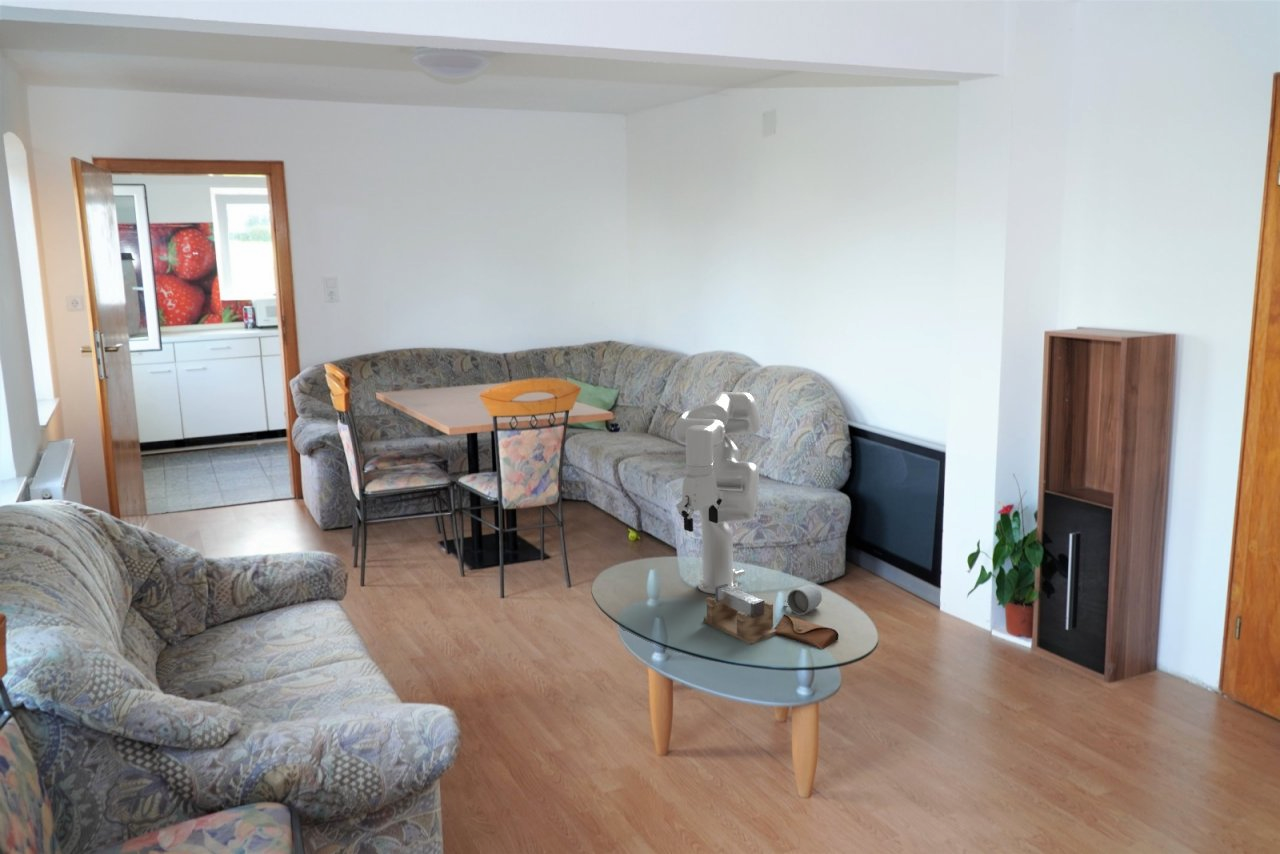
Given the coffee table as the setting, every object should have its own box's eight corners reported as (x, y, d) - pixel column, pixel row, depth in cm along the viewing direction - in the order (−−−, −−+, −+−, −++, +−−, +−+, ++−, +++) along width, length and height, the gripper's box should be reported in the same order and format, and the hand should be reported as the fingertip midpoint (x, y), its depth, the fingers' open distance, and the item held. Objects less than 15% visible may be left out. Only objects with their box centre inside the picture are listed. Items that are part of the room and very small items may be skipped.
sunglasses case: (767, 633, 287) (773, 610, 288) (778, 637, 292) (785, 615, 293) (823, 650, 275) (830, 626, 277) (834, 654, 281) (841, 631, 282)
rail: (726, 597, 297) (726, 583, 296) (764, 614, 285) (764, 600, 284) (715, 600, 295) (715, 587, 294) (753, 618, 282) (753, 604, 281)
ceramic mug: (823, 608, 302) (823, 584, 301) (809, 617, 296) (808, 592, 295) (792, 600, 309) (792, 576, 307) (778, 609, 303) (777, 585, 301)
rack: (731, 611, 302) (731, 585, 300) (778, 633, 286) (778, 606, 284) (701, 621, 296) (701, 595, 294) (748, 645, 280) (748, 617, 278)
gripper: (712, 460, 296) (713, 515, 301) (667, 473, 286) (669, 530, 290) (730, 465, 291) (731, 521, 295) (686, 478, 280) (687, 537, 284)
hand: (701, 526), depth 292 cm, fingers open, 9 cm apart
